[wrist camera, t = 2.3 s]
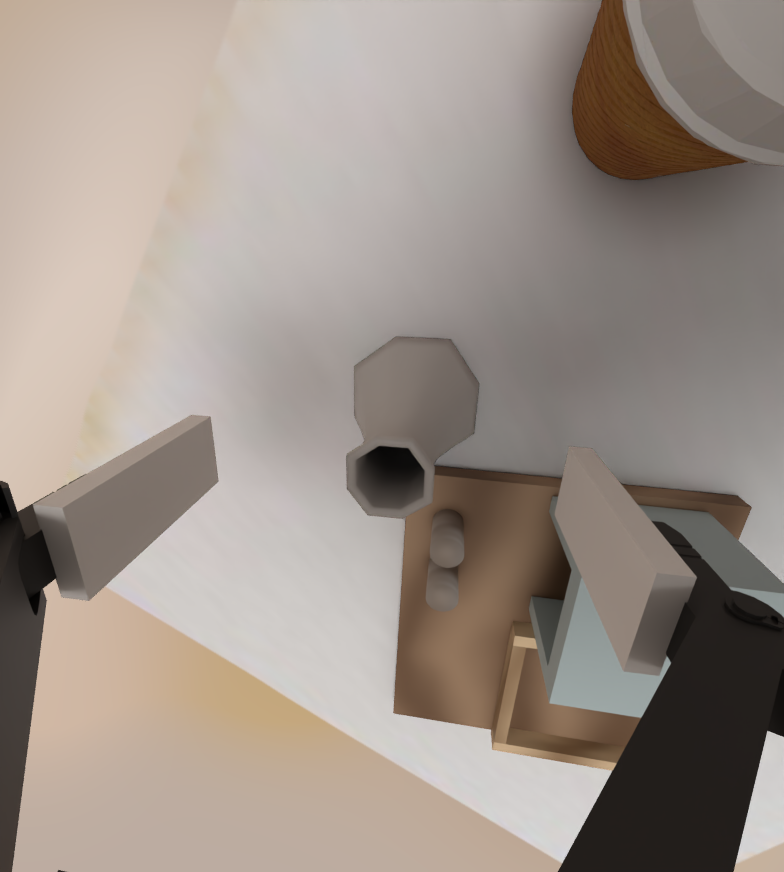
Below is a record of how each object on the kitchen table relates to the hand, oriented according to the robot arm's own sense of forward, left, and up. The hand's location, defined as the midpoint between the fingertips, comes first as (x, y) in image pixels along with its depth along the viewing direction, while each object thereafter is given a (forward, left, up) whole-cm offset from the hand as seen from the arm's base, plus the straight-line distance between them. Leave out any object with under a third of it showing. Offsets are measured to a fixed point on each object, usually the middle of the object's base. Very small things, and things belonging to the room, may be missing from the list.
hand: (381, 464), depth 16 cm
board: (-9, +14, -9) cm, 19 cm away
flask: (0, 0, -9) cm, 9 cm away
